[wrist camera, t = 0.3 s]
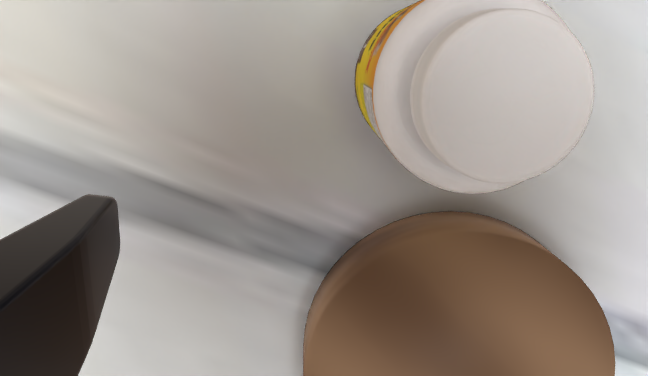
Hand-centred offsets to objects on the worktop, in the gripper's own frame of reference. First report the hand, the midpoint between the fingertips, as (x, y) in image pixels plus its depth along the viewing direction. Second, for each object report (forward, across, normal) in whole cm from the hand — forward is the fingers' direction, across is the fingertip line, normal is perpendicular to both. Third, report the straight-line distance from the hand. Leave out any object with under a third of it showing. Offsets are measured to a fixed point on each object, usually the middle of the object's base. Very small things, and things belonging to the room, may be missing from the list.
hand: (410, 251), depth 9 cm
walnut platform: (+11, -5, +13) cm, 18 cm away
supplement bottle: (+15, -3, +3) cm, 16 cm away
